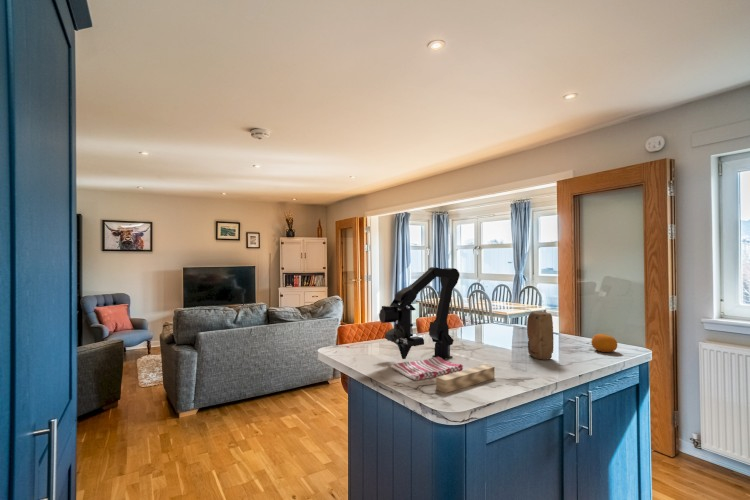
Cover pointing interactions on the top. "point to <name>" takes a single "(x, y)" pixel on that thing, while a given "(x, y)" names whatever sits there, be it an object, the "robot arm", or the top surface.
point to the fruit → (604, 343)
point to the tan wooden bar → (464, 378)
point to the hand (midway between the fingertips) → (403, 359)
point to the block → (540, 335)
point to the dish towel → (426, 368)
